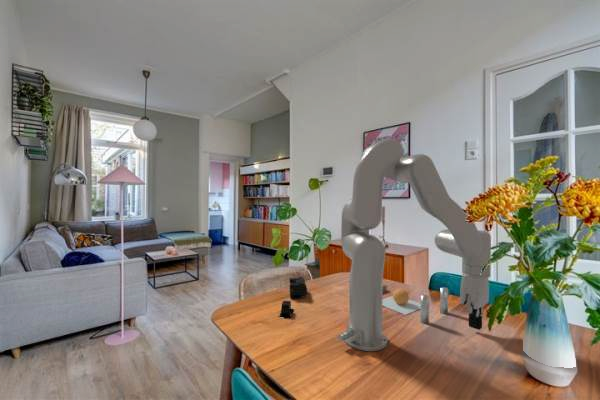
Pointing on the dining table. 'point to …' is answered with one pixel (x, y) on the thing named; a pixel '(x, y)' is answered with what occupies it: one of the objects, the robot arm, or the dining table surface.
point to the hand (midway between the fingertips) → (475, 327)
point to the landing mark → (401, 306)
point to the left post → (425, 309)
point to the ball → (400, 296)
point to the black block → (286, 310)
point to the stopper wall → (384, 287)
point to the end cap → (297, 288)
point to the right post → (444, 300)
